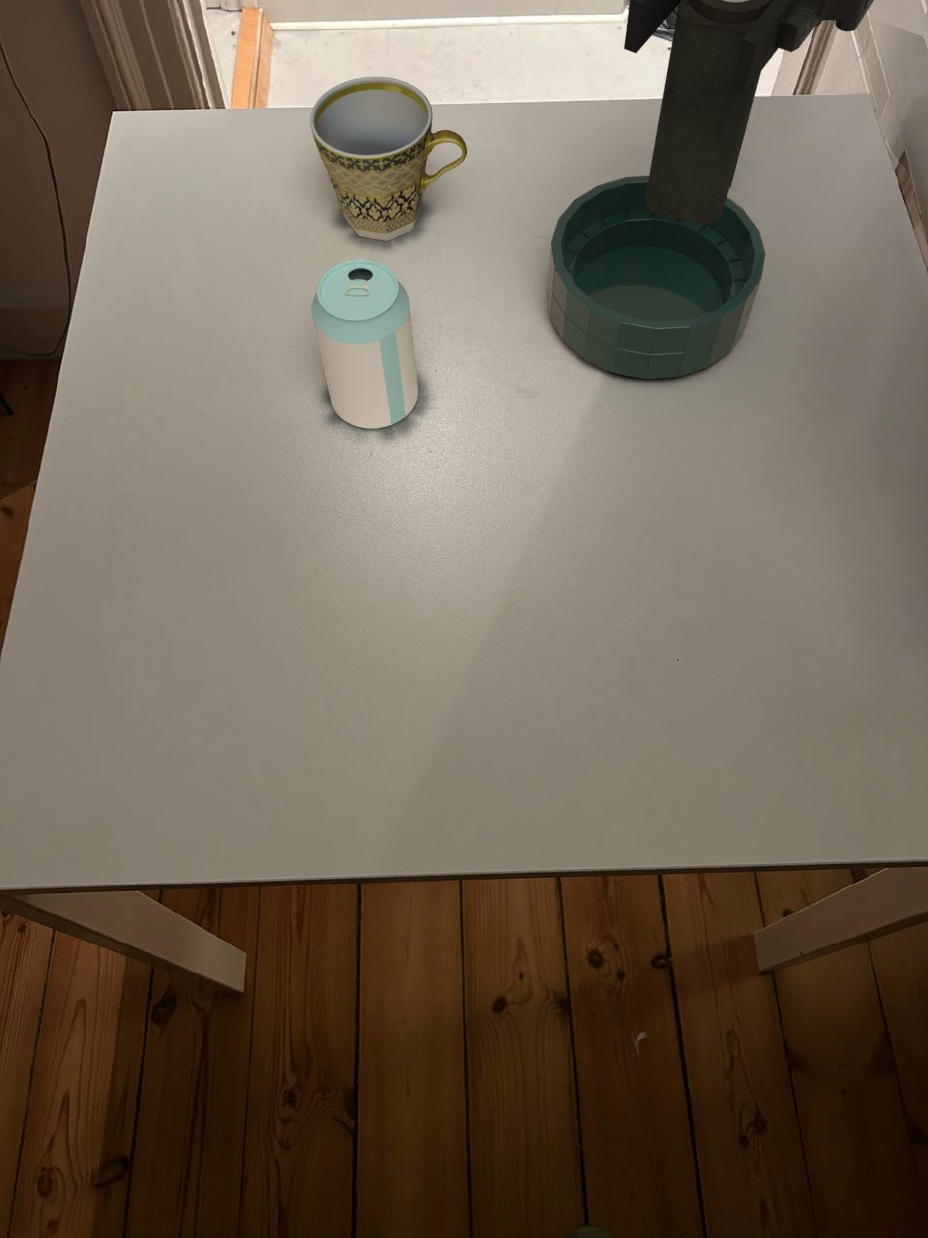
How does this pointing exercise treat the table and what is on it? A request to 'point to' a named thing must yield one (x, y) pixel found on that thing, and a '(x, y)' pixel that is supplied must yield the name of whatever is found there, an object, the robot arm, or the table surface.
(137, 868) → the table surface
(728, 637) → the table surface
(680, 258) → the bowl
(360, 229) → the ceramic cup
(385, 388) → the can
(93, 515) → the table surface
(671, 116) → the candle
